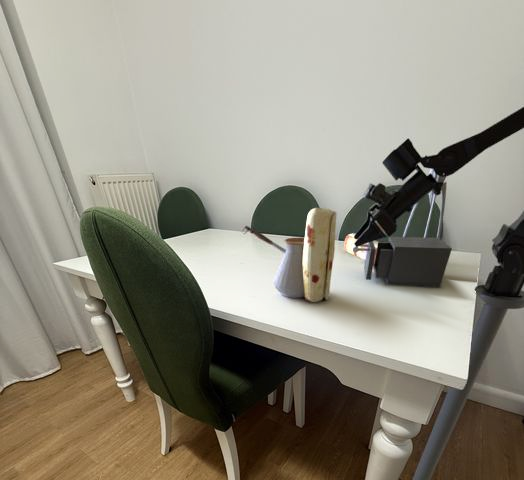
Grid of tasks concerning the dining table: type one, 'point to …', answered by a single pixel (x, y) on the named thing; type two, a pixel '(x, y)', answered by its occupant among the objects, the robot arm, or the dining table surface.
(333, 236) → the food model
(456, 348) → the dining table surface
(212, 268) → the dining table surface
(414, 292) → the dining table surface
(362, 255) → the snack package
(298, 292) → the coffee pot
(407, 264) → the dark grey box
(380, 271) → the grey drawer
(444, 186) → the citrus juicer
